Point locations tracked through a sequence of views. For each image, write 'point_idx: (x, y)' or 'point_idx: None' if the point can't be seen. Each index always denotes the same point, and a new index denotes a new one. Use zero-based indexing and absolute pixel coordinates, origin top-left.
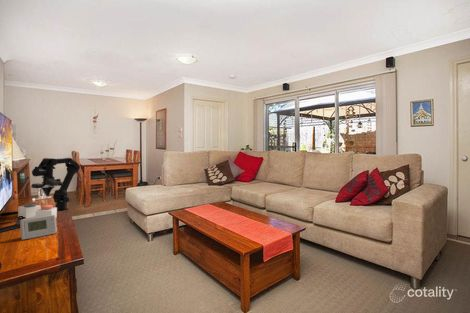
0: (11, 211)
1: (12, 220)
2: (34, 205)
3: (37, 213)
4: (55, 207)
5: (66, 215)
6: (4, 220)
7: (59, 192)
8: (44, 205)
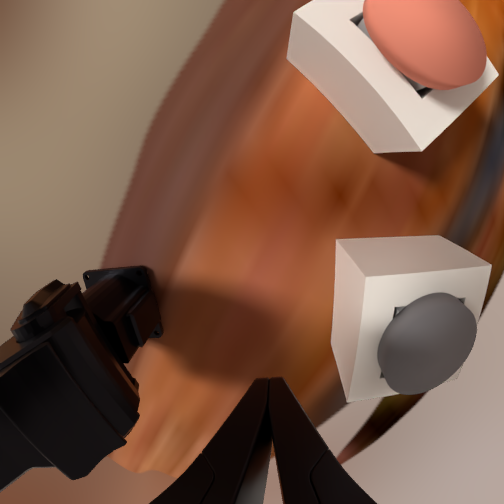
0: (343, 452)
1: (487, 255)
2: (421, 304)
3: None
4: (308, 20)
5: (196, 56)
6: (494, 291)
7: (43, 408)
8: (448, 62)
